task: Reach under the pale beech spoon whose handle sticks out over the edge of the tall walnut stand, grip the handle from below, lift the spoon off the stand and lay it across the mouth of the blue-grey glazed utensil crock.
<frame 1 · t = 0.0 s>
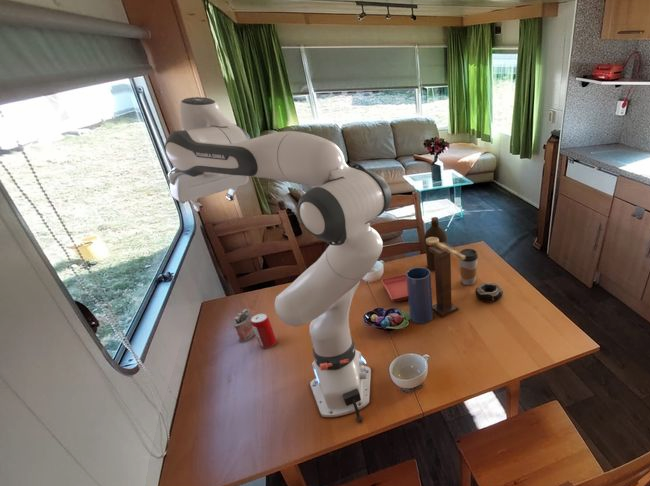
hand: (215, 204, 111), 52 cm above the table, tool tilted 20°, fingers open, 8 cm apart
stand: (444, 309, 155), on the table
soda can: (268, 344, 138), on the table
spoon: (444, 249, 140), point 28 cm above the table, touching stand
lighter: (249, 335, 142), on the table
coffee cup: (468, 282, 174), on the table
donut: (488, 296, 164), on the table
plant saucer: (406, 290, 168), on the table
olive oil: (437, 266, 186), on the table
crock: (421, 316, 151), on the table
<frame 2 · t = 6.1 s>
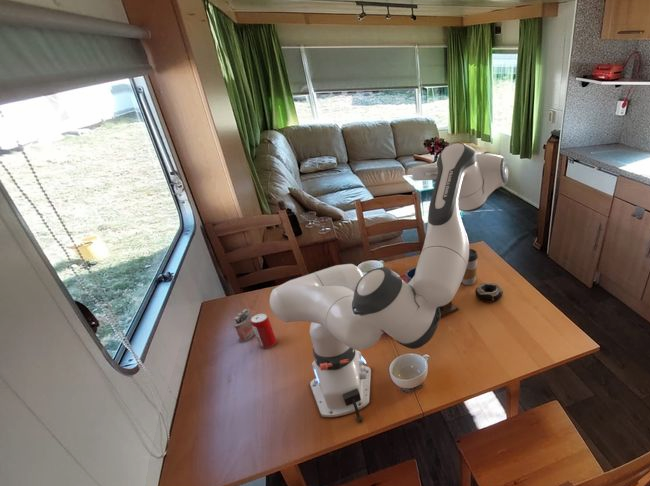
hand: (419, 169, 118), 59 cm above the table, tool horizontal, fingers open, 8 cm apart
nothing on the table moved.
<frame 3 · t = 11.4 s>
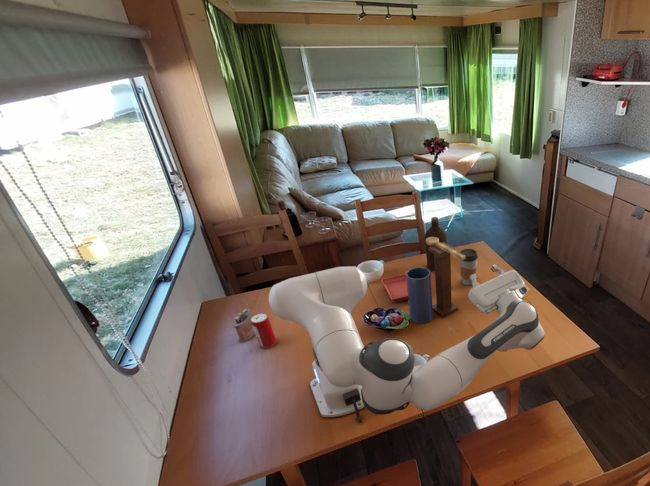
hand: (482, 270, 127), 28 cm above the table, tool pointing upward, fingers open, 8 cm apart
nothing on the table moved.
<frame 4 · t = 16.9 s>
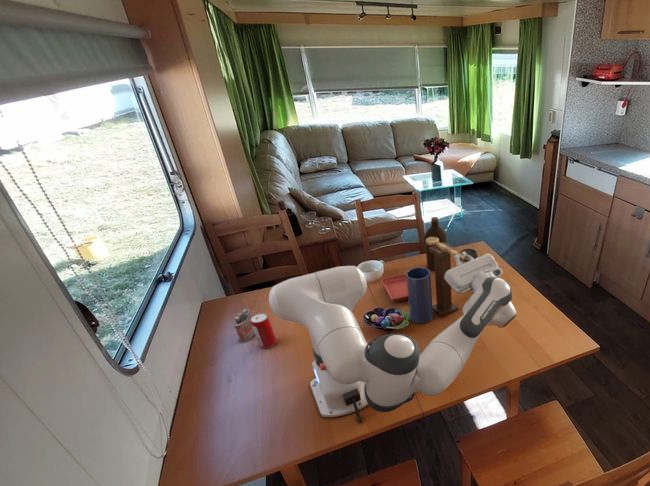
hand: (459, 254, 134), 29 cm above the table, tool pointing upward, fingers closed on spoon
spoon: (444, 249, 140), point 28 cm above the table, touching gripper, stand
everything else where it was.
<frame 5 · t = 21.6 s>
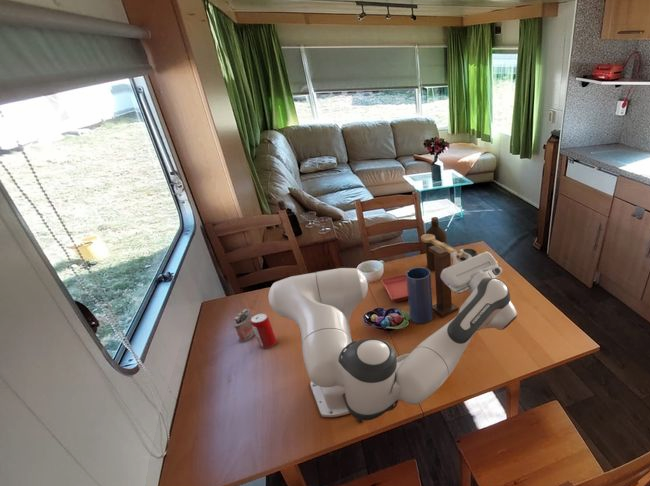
hand: (456, 252, 126), 33 cm above the table, tool pointing upward, fingers closed on spoon
spoon: (440, 246, 132), point 32 cm above the table, touching gripper
everything else where it was.
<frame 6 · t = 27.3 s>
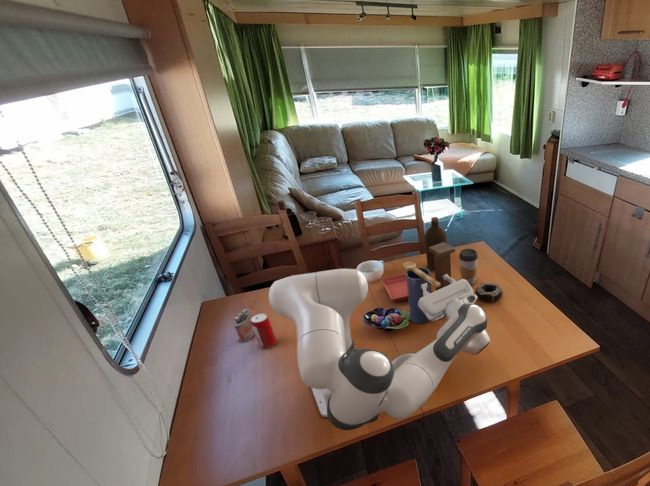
hand: (433, 279, 133), 22 cm above the table, tool pointing upward, fingers open, 8 cm apart
spoon: (420, 274, 140), point 20 cm above the table, touching crock
everything else where it was.
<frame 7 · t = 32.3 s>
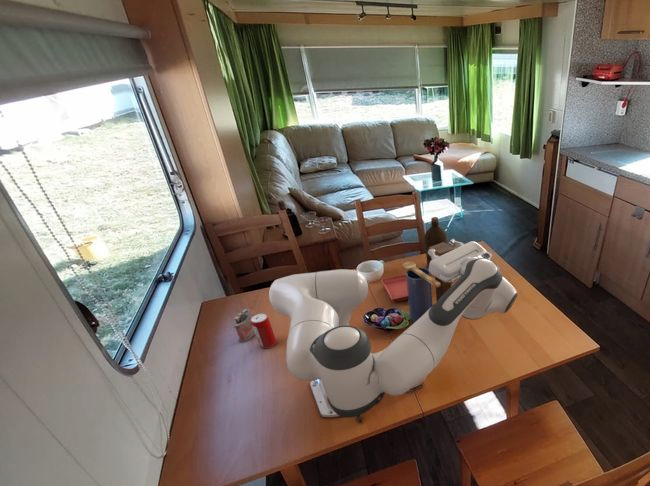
hand: (440, 245, 120), 38 cm above the table, tool pointing upward, fingers open, 8 cm apart
nothing on the table moved.
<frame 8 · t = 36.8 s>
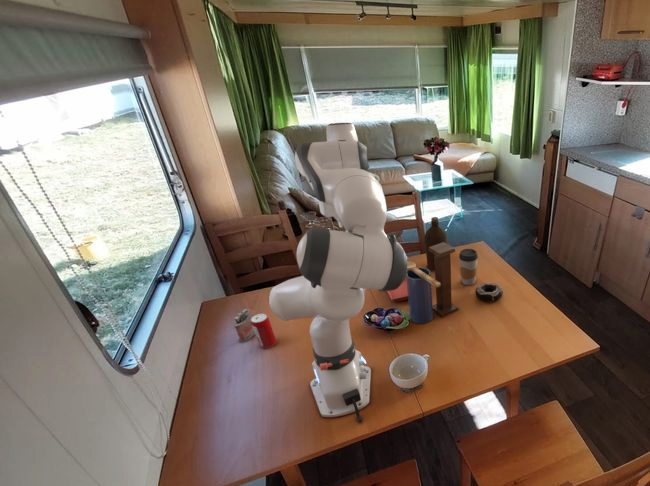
hand: (356, 222, 122), 43 cm above the table, tool pointing down, fingers open, 8 cm apart
nothing on the table moved.
at the end: spoon inside the target area on the crock (0.6 cm from its centre), point 20.0 cm above the crock's base; spoon tilted 0°; spoon touching crock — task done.
